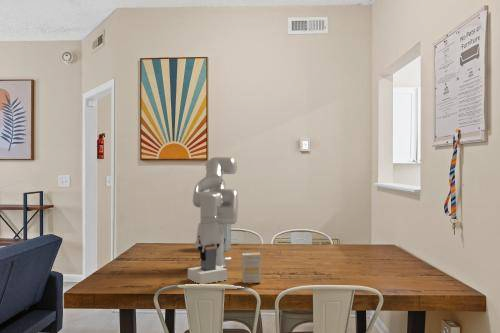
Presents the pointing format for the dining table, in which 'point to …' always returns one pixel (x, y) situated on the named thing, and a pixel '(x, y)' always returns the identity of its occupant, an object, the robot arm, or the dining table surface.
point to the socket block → (207, 275)
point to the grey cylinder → (209, 258)
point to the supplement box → (251, 268)
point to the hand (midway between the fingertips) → (208, 258)
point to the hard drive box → (226, 236)
